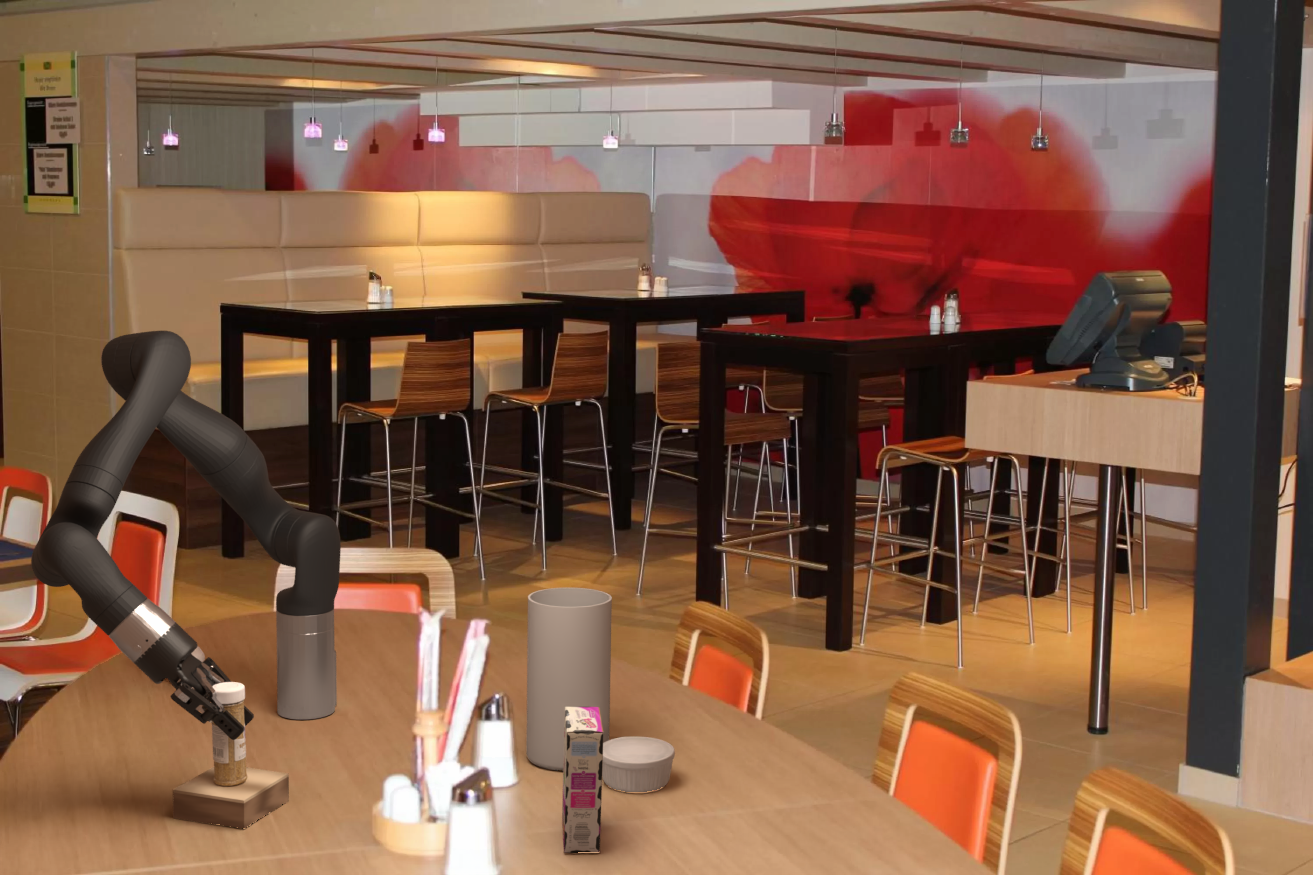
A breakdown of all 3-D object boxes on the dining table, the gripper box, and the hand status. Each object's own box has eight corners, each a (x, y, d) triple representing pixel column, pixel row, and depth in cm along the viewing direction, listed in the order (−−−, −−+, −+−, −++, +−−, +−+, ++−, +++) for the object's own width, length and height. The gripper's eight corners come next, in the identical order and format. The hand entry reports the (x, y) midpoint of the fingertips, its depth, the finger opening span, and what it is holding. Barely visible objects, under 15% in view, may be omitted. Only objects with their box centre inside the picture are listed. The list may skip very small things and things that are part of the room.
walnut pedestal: (220, 790, 219) (220, 763, 218) (289, 800, 215) (288, 773, 215) (173, 817, 208) (172, 789, 208) (244, 829, 205) (243, 800, 204)
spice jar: (252, 782, 210) (249, 687, 209) (219, 789, 208) (216, 692, 206) (241, 772, 214) (238, 678, 212) (208, 778, 212) (205, 683, 210)
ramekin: (618, 802, 218) (618, 766, 217) (584, 776, 227) (585, 742, 227) (688, 790, 223) (688, 754, 222) (652, 765, 233) (653, 731, 232)
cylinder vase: (577, 778, 226) (580, 611, 223) (509, 761, 233) (511, 599, 229) (624, 754, 237) (627, 595, 233) (558, 739, 243) (560, 583, 240)
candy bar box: (602, 854, 199) (604, 731, 197) (563, 855, 199) (565, 731, 196) (598, 821, 210) (600, 704, 208) (561, 822, 210) (563, 704, 207)
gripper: (157, 635, 201) (252, 726, 203) (187, 608, 215) (275, 693, 217) (116, 675, 201) (211, 765, 203) (149, 645, 216) (237, 729, 218)
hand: (244, 727), depth 210 cm, fingers open, 5 cm apart
